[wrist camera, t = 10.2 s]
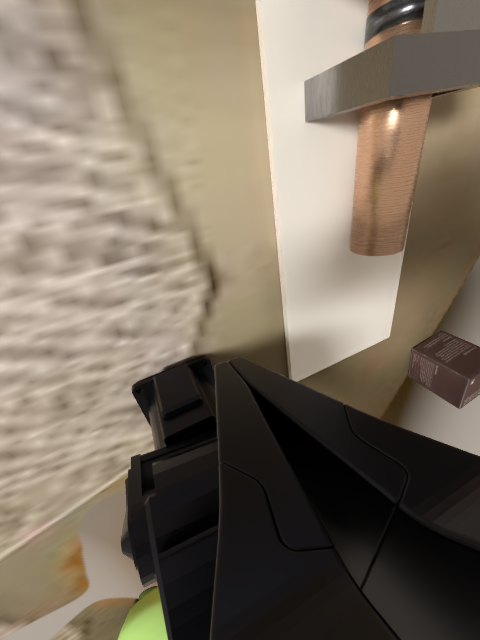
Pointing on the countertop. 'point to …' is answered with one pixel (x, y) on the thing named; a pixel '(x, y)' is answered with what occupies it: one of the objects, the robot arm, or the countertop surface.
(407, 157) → the tube
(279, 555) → the robot arm
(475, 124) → the countertop surface
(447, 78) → the grey u-shaped bracket
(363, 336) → the slab
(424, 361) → the box
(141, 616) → the teapot
